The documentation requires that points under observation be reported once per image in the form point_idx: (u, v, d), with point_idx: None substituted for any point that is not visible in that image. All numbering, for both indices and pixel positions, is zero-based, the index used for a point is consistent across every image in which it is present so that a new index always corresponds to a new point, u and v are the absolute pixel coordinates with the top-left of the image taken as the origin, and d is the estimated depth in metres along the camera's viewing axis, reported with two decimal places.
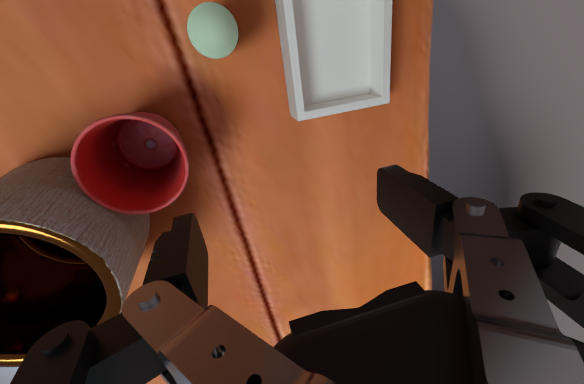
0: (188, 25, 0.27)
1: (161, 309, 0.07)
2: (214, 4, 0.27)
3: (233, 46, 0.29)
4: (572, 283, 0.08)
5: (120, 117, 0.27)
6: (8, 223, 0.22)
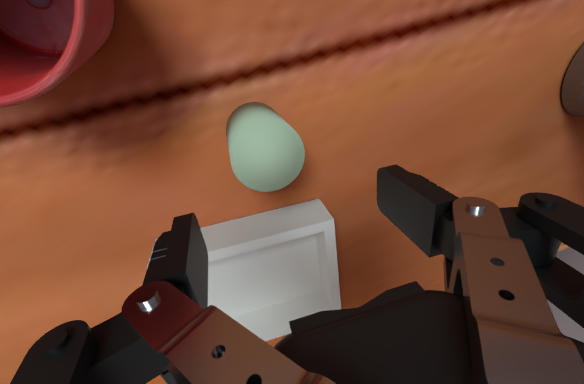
0: (274, 122, 0.17)
1: (161, 309, 0.07)
2: (302, 160, 0.19)
3: (250, 185, 0.19)
4: (572, 283, 0.08)
5: None
6: None
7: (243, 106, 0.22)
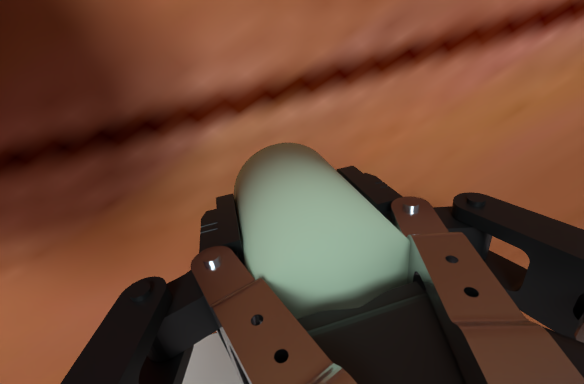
0: (369, 231, 0.07)
1: (220, 271, 0.08)
2: None
3: None
4: (508, 273, 0.09)
5: None
6: None
7: (268, 154, 0.12)
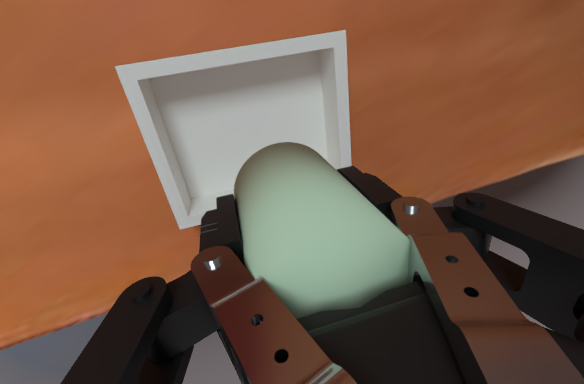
0: (369, 230, 0.07)
1: (220, 271, 0.08)
2: None
3: None
4: (508, 273, 0.09)
5: None
6: None
7: (268, 153, 0.12)
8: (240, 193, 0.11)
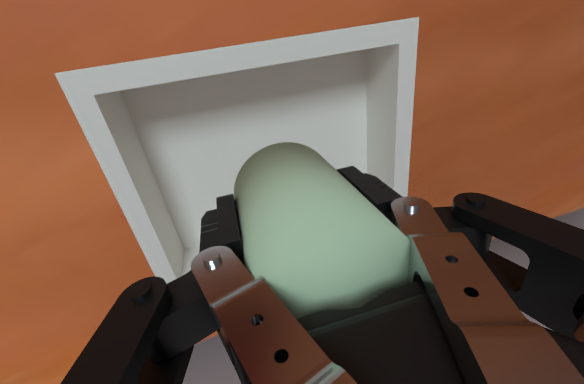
0: (370, 230, 0.07)
1: (220, 271, 0.08)
2: None
3: None
4: (508, 273, 0.09)
5: None
6: None
7: (268, 153, 0.12)
8: (240, 193, 0.11)
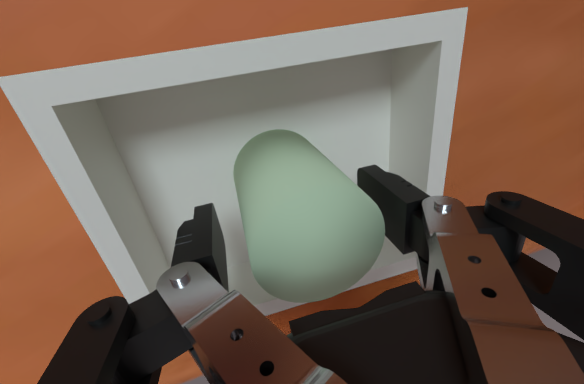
0: (338, 188, 0.09)
1: (190, 288, 0.07)
2: (378, 247, 0.10)
3: (284, 296, 0.10)
4: (540, 276, 0.08)
5: None
6: None
7: (262, 138, 0.14)
8: (239, 171, 0.13)
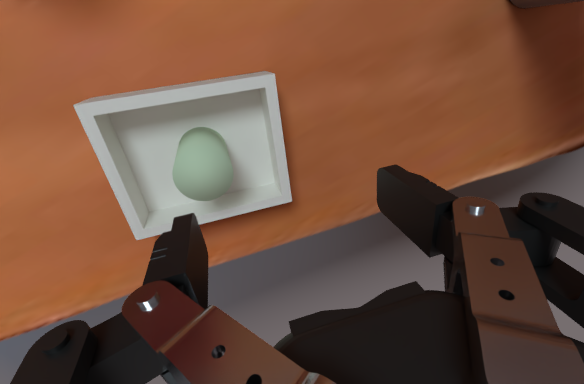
0: (206, 148, 0.22)
1: (161, 309, 0.07)
2: (231, 176, 0.24)
3: (190, 196, 0.24)
4: (572, 283, 0.08)
5: None
6: None
7: (190, 131, 0.27)
8: (178, 147, 0.27)
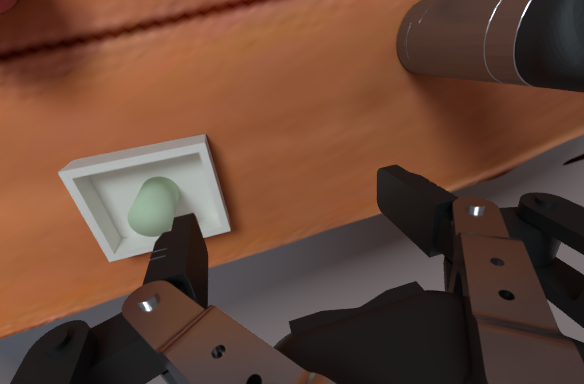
0: (150, 201, 0.31)
1: (161, 309, 0.07)
2: (172, 219, 0.33)
3: (142, 234, 0.33)
4: (572, 283, 0.08)
5: None
6: None
7: (148, 180, 0.37)
8: None
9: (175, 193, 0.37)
